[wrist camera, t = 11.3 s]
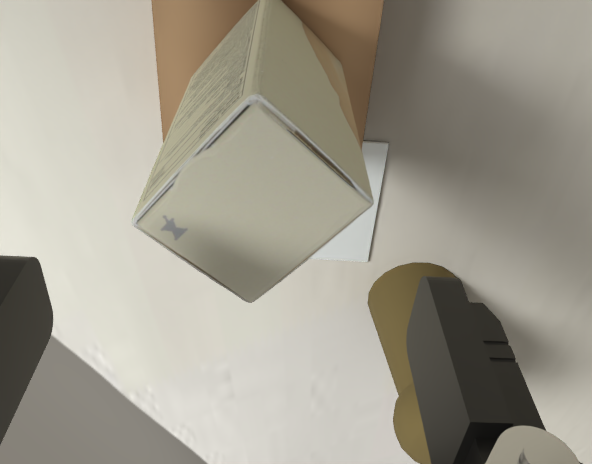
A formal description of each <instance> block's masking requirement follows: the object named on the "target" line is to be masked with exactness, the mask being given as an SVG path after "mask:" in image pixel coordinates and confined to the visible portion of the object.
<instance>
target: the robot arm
mask: <svg viewBox="0 0 592 464" xmlns="http://www.w3.org/2000/svg"><path fill="white" fill-rule="evenodd" d="M52 327H53V311H52V306H51V303H50V299H49V295H48V291H47V288H46V284H45V280H44V276H43V273H42V269H41V265H40V263H39V261H38V259H37V258H35V257H21V256H0V444H1V442H2V440H3V438H4V436H5V433H6V431H7V429H8V427H9V425H10V423H11V421H12V418H13V416H14V414H15V412H16V410H17V408H18V406H19V403H20V401H21V399H22V397H23V395H24V393H25V391H26V389H27V386H28V384H29V382H30V380H31V378H32V376H33V373H34V371H35V369H36V367H37V365H38V363H39V361H40V359H41V356H42V354H43V352H44V350H45V348H46V346H47V343H48V341H49V339H50V336H51V332H52ZM406 346H407V355H408V360H409V364H410V369H411V373H412V378H413V383H414V387H415V392H416V396H417V401H418V405H419V410H420V414H421V419H422V424H423V428H424V433H425V437H426V442H427V446H428V451H429V456H430V460H431V464H582V463H580V462H579V461H578V459H577V457H576V456H575V454H574V453H573V452H572V450H571V449H570V448H569V447H568V446H567V445H566V444H565V443H564V442H563V441H561V440H560V439H559V438H557V437H556V436H554V435H553V434H551V433H549V432H547V431H546V429H545V427H544V425H543V423H542V420H541V418H540V416H539V413H538V411H537V409H536V406H535V404H534V401H533V399H532V397H531V394H530V392H529V389H528V387H527V385H526V382H525V380H524V378H523V375H522V373H521V370H520V368H519V366H518V363H516V362H515V359H516V358H515V356H514V354H513V351H512V349H511V347H510V346H509V345H508V339H507V337H506V335H505V332H504V330H503V327H502V325H501V323H500V321H499V320H498V319H497V318H496V317H495V316H494V314H493V313H492V312H491V311H490V310H489V309H488V308H487V307H486V306H485V305H484V304H483V303H470V302H469V301H468V299H467V296H466V293H465V291H464V288H463V285H462V283H461V281H460V279H459V278H453V277H431V276H423V277H422V278H421V279H420V282H419V285H418V289H417V293H416V297H415V300H414V304H413V308H412V312H411V316H410V319H409V323H408V327H407V337H406Z"/></svg>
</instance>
